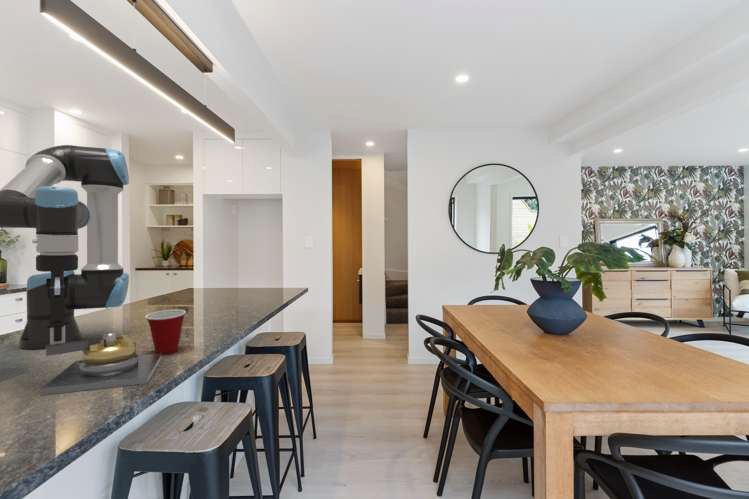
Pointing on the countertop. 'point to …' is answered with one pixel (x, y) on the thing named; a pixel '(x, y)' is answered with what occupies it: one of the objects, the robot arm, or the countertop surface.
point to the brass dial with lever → (98, 349)
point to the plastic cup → (166, 329)
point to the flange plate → (102, 382)
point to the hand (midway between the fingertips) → (57, 353)
